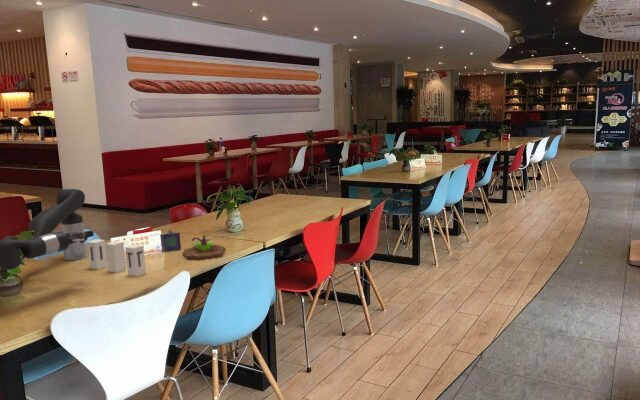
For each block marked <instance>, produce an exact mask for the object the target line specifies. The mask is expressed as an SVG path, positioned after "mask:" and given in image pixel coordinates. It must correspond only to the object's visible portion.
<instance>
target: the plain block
mask: <svg viewBox="0 0 640 400" xmlns="http://www.w3.org/2000/svg"><path fill="white" fill-rule="evenodd" d="M124 245H125V244H124V241H118V240H115V241H110V242H107V243H105V248H106V258H107V269H108V272H109V273H116V274H117V273H119V272H122V271H127V261H126V252H125V246H124Z"/></svg>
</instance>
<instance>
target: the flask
mask: <svg viewBox="0 0 640 400" xmlns="http://www.w3.org/2000/svg"><path fill="white" fill-rule="evenodd" d="M159 235H160V237H159V239H160V246H161V247H162V250H161V252H162V253H163V252H164V253H166V252H175V251H181V250H182V249H181V248H182V246H181V245H182V244H181V234H180V232H179V231H172V230H171V228H169V229H167V232H164V233H160V234H159ZM161 247H160V248H161Z"/></svg>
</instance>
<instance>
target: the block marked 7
mask: <svg viewBox="0 0 640 400" xmlns="http://www.w3.org/2000/svg"><path fill="white" fill-rule="evenodd" d="M124 251H125V261H126V270H127V275H128V276H131V277H138V276H139V277H140V276H141V275H145V274H146V273H147V269H146V259H145V258H146V257H145V248H144V245H140V244H131V245H129V246H124Z"/></svg>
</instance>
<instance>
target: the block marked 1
mask: <svg viewBox="0 0 640 400" xmlns="http://www.w3.org/2000/svg"><path fill="white" fill-rule="evenodd" d="M86 243H87V245H86V247H87V253H88V254H87V255H88V261H89V268H90V269H93V270H101V269H103V268H106V267H107V268H108V262H107V252H106V241H105V239H98V238H96V239H92V240H89V241H88V240H87V242H86Z"/></svg>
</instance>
